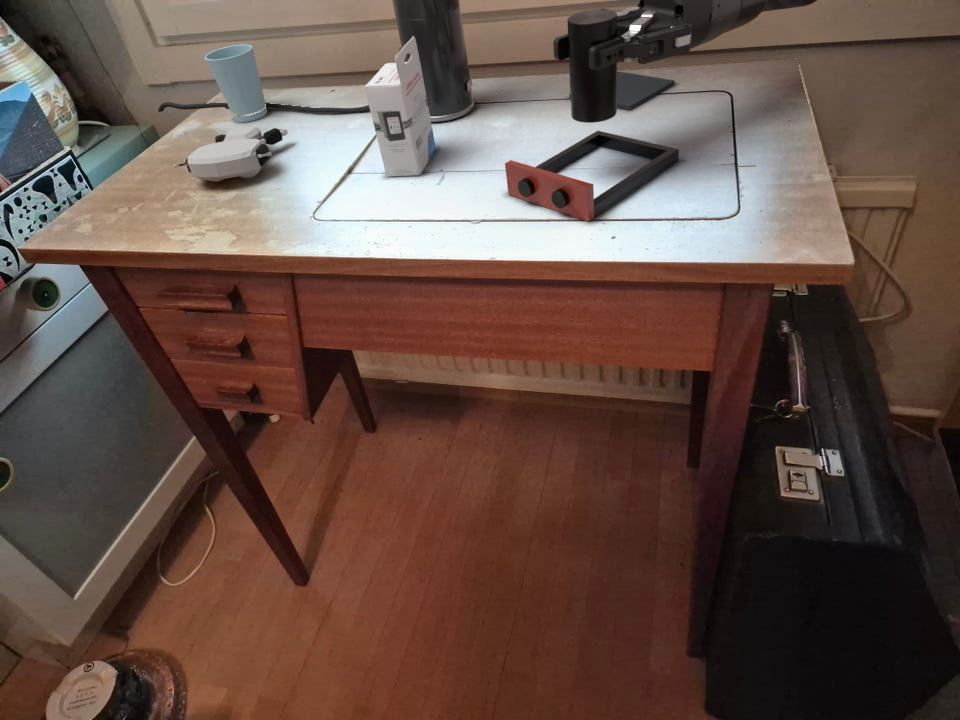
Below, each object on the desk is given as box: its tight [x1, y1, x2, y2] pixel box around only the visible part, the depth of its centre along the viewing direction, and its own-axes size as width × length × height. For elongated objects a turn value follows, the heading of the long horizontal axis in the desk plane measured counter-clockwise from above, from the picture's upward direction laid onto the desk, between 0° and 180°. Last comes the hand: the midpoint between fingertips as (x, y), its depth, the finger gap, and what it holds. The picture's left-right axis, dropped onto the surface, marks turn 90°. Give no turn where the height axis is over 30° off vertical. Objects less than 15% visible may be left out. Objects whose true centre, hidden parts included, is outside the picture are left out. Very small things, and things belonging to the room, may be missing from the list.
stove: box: [504, 130, 680, 223], centre depth 77 cm, size 12×18×4 cm
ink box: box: [364, 36, 437, 177], centre depth 84 cm, size 9×5×15 cm, turn 168°
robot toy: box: [173, 125, 289, 182], centre depth 94 cm, size 12×4×15 cm
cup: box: [204, 43, 268, 123], centre depth 109 cm, size 8×8×10 cm
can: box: [567, 9, 618, 124], centre depth 70 cm, size 5×5×10 cm
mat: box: [568, 70, 676, 111], centre depth 98 cm, size 11×11×1 cm
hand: (573, 54), depth 68 cm, fingers closed on can, 5 cm apart
